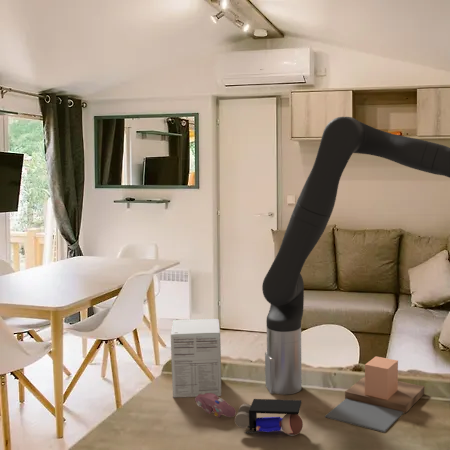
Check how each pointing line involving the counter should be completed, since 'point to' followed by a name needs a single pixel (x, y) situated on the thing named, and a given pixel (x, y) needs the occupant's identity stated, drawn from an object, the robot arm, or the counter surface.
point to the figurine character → (267, 424)
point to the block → (381, 377)
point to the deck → (398, 401)
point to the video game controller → (215, 405)
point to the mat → (364, 415)
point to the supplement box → (196, 357)
